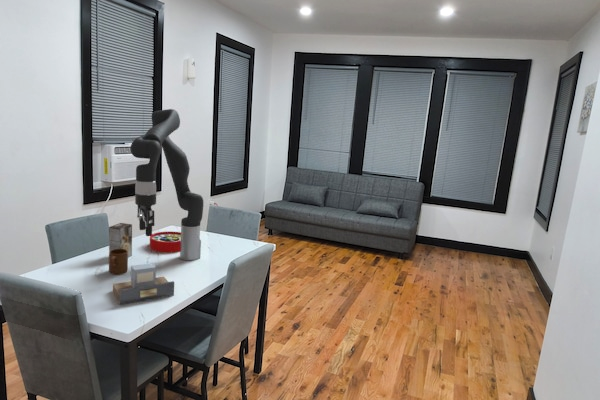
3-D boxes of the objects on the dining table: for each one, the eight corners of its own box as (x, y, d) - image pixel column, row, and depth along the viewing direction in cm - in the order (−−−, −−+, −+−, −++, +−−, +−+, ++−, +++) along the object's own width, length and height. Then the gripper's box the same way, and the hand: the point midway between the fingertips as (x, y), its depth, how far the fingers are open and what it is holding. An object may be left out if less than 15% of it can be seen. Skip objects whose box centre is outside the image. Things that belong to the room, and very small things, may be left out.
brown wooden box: (163, 283, 170) (163, 270, 169) (174, 295, 159) (174, 282, 158) (112, 291, 159) (112, 278, 158) (120, 305, 148) (120, 291, 147)
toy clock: (183, 230, 229) (193, 240, 213) (182, 240, 230) (193, 251, 214) (146, 232, 219) (154, 243, 202) (146, 243, 220) (154, 254, 203)
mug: (119, 279, 170) (120, 258, 168) (101, 278, 170) (101, 257, 168) (130, 269, 182) (130, 249, 180) (113, 267, 181) (113, 248, 180)
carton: (130, 284, 159) (131, 265, 158) (151, 281, 164) (151, 262, 162) (134, 289, 155) (134, 270, 153) (155, 286, 159) (155, 267, 158)
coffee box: (120, 253, 200) (121, 222, 197) (132, 255, 199) (132, 224, 196) (108, 259, 191) (108, 226, 188) (120, 261, 190) (120, 228, 187)
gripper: (130, 189, 157) (130, 228, 160) (140, 196, 146) (140, 239, 149) (150, 188, 161) (150, 227, 165) (161, 195, 150) (161, 236, 153)
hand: (145, 232), depth 157 cm, fingers open, 8 cm apart
